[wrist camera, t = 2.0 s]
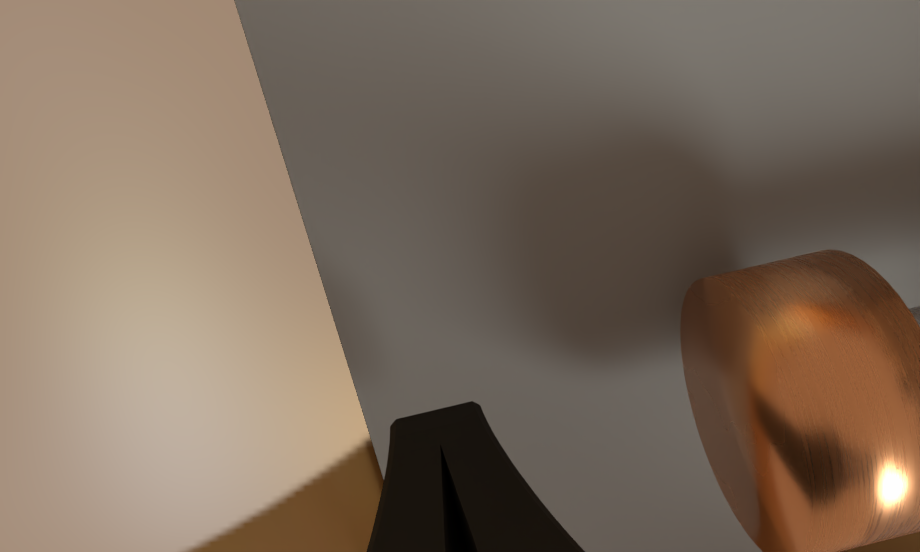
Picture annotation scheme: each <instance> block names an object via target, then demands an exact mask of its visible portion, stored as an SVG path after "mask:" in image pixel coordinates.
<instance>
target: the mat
mask: <svg viewBox="0 0 920 552" xmlns="http://www.w3.org/2000/svg"><path fill="white" fill-rule="evenodd" d="M234 1H235V4H236V7H237V10H238V13H239V16H240V20H241V23H242V26H243V29H244V33H245V36H246V39H247V42H248V45H249V49H250V52H251V55H252V58H253V61H254V65H255V68H256V71H257V75H258V78H259V81H260V84H261V87H262V91H263V94H264V97H265V100H266V103H267V107H268V110H269V113H270V116H271V120H272V123H273V126H274V129H275V132H276V135H277V139H278V142H279V145H280V148H281V152H282V155H283V158H284V161H285V164H286V168H287V171H288V174H289V177H290V180H291V184H292V187H293V190H294V193H295V197H296V200H297V203H298V206H299V209H300V213H301V216H302V219H303V222H304V225H305V228H306V232H307V235H308V238H309V241H310V245H311V248H312V251H313V254H314V258H315V261H316V264H317V267H318V270H319V273H320V277H321V280H322V283H323V286H324V290H325V293H326V296H327V299H328V302H329V306H330V309H331V312H332V315H333V318H334V322H335V325H336V328H337V331H338V334H339V338H340V341H341V344H342V347H343V350H344V354H345V357H346V360H347V363H348V367H349V370H350V373H351V376H352V379H353V383H354V386H355V389H356V392H357V396H358V399H359V402H360V405H361V408H362V412H363V415H364V418H365V421H366V424H367V428H368V431H369V434H370V437H371V441H372V444H373V447H374V450H375V453H376V457H377V460H378V463H379V466H380V469H381V473H382V476H383V479H384V478H385V472H386V467H387V460H388V452H389V443H390V426H391V425H392V423H393V422H394V421H395V420H396V419H399V418H403V417H407V416H412V415H416V414H420V413H424V412H428V411H433V410H437V409H441V408H445V407H449V406H454V405H458V404H462V403H466V402H471V401H473V402H475V403H477V404H479V405H480V406H481V408H482V411H483V413H484V415H485V417H486V420H487V422H488V424H489V426H490V427H491V429H492V431H493V433H494V435H495V436H496V438H497V440H498V441H499V443H500V444H501V446H502V448H503V449H504V451H505V452H506V454H507V455H508V457H509V458H510V460H511V461H512V463H513V464H514V466H515V467H516V468H517V470H518V471H519V473H520V474H521V475H522V477H523V478H524V479H525V481H526V482H527V483H528V485H529V486H530V487H531V489H532V490H533V491H534V493H535V494H536V495H537V496H538V498H539V499H540V500H541V502H542V503H543V504H544V505H545V507H546V508H547V509H548V510H549V511H550V513H551V514H552V515H553V516H554V517H555V519H556V520H557V521H558V522H559V523H560V524H561V525H562V527H563V528H564V529H565V530H566V531H567V532H568V534H569V535H570V536H571V537H572V538H573V539H574V540H575V541H576V542H577V544H578V545H579V546H580V547H581V548H582V549H583V550H584V551H585V552H763V551H762V550H761V549H760V548H759V547H758V546H757V545H756V544H755V543H754V542H753V541H752V539H751V538H750V537H749V536H748V534H747V533H746V531H745V530H744V529H743V527H742V526H741V524H740V523H739V521H738V520H737V518H736V516H735V515H734V513H733V511H732V510H731V508H730V506H729V504H728V502H727V500H726V499H725V497H724V495H723V492H722V490H721V488H720V486H719V484H718V482H717V480H716V478H715V475H714V473H713V471H712V468H711V466H710V463H709V461H708V458H707V456H706V453H705V450H704V447H703V444H702V442H701V439H700V436H699V433H698V429H697V426H696V423H695V419H694V416H693V412H692V408H691V404H690V400H689V396H688V391H687V386H686V381H685V376H684V369H683V362H682V353H681V339H680V322H681V311H682V306H683V301H684V298H685V295H686V292H687V290H688V289H689V287H690V286H691V285H692V284H693V283H694V282H695V281H696V280H698V279H701V278H705V277H709V276H714V275H718V274H722V273H726V272H731V271H735V270H739V269H744V268H748V267H752V266H757V265H761V264H765V263H769V262H774V261H778V260H782V259H787V258H791V257H795V256H799V255H804V254H808V253H812V252H817V251H821V250H829V249H833V250H840V251H844V252H847V253H849V254H852V255H854V256H856V257H858V258H859V259H861V260H863V261H864V262H866V263H867V264H868V265H870V266H871V267H872V268H874V269H875V270H876V271H877V272H878V273H879V274H880V275H881V276H882V277H883V278H884V279H885V280H886V281H887V282H888V283H889V284H890V285H891V286H892V287H893V289H894V290H895V291H896V292H897V293H898V295H899V296H900V297H901V298H902V300H903V301H904V303H905V304H906V306H907V307H908V308H913V307H917V306H920V0H234Z"/></svg>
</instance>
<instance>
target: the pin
mask: <svg viewBox="0 0 920 552" xmlns="http://www.w3.org/2000/svg"><path fill="white" fill-rule="evenodd" d="M680 339H681V353H682V362H683V369H684V376H685V381H686V386H687V391H688V396H689V400H690V404H691V408H692V412H693V416H694V419H695V423H696V426H697V429H698V433H699V436H700V439H701V442H702V444H703V447H704V450H705V453H706V456H707V458H708V461H709V463H710V466H711V468H712V471H713V473H714V475H715V478H716V480H717V482H718V484H719V486H720V488H721V490H722V492H723V495H724V497H725V499H726V500H727V502H728V504H729V506H730V508H731V510H732V511H733V513H734V515H735V516H736V518H737V520H738V521H739V523H740V524H741V526H742V527H743V529H744V530H745V531H746V533H747V534H748V536H749V537H750V538H751V539H752V541H753V542H754V543H755V544H756V545H757V546H758V547H759V548H760V549H761V550H762V551H763V552H841V551H845V550H849V549H852V548H856V547H860V546H864V545H868V544H872V543H876V542H880V541H884V540H888V539H892V538H896V537H900V536H904V535H908V534H912V533H916V532H920V306H917V307H913V308H908V307H907V306H906V304H905V303H904V301H903V300H902V298H901V297H900V296H899V295H898V293H897V292H896V291H895V290H894V289H893V287H892V286H891V285H890V284H889V283H888V282H887V281H886V280H885V279H884V278H883V277H882V276H881V275H880V274H879V273H878V272H877V271H876V270H875V269H874V268H872V267H871V266H870V265H868V264H867V263H866V262H864V261H863V260H861V259H859V258H858V257H856V256H854V255H852V254H849V253H847V252H844V251H840V250H833V249H829V250H821V251H817V252H812V253H808V254H804V255H799V256H795V257H791V258H787V259H782V260H778V261H774V262H769V263H765V264H761V265H757V266H752V267H748V268H744V269H739V270H735V271H731V272H726V273H722V274H718V275H714V276H709V277H705V278H701V279H698V280H696V281H695V282H694V283H693V284H692V285H691V286H690V287H689V289H688V290H687V292H686V295H685V298H684V301H683V306H682V311H681V322H680Z"/></svg>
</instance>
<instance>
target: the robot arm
mask: <svg viewBox="0 0 920 552" xmlns="http://www.w3.org/2000/svg"><path fill="white" fill-rule="evenodd" d="M367 552H585V551H584V550H583V549H582V548H581V547H580V546H579V545H578V544H577V542H576V541H575V540H574V539H573V538H572V537H571V536H570V535H569V534H568V532H567V531H566V530H565V529H564V528H563V527H562V525H561V524H560V523H559V522H558V521H557V520H556V519H555V517H554V516H553V515H552V514H551V513H550V511H549V510H548V509H547V508H546V507H545V505H544V504H543V503H542V502H541V500H540V499H539V498H538V496H537V495H536V494H535V493H534V491H533V490H532V489H531V487H530V486H529V485H528V483H527V482H526V481H525V479H524V478H523V477H522V475H521V474H520V473H519V471H518V470H517V468H516V467H515V466H514V464H513V463H512V461H511V460H510V458H509V457H508V455H507V454H506V452H505V451H504V449H503V448H502V446H501V444H500V443H499V441H498V440H497V438H496V436H495V435H494V433H493V431H492V429H491V427H490V426H489V424H488V422H487V420H486V417H485V415H484V413H483V411H482V408H481V406H480V405H479V404H477V403H475V402H473V401H471V402H466V403H462V404H458V405H454V406H449V407H445V408H441V409H437V410H433V411H428V412H424V413H420V414H416V415H412V416H407V417H403V418H399V419H396V420H395V421H394V422H393V423H392V425H391V426H390V443H389V452H388V460H387V467H386V472H385V478H384V483H383V489H382V493H381V498H380V502H379V506H378V510H377V514H376V519H375V523H374V527H373V531H372V535H371V538H370V542H369V545H368V549H367Z"/></svg>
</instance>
